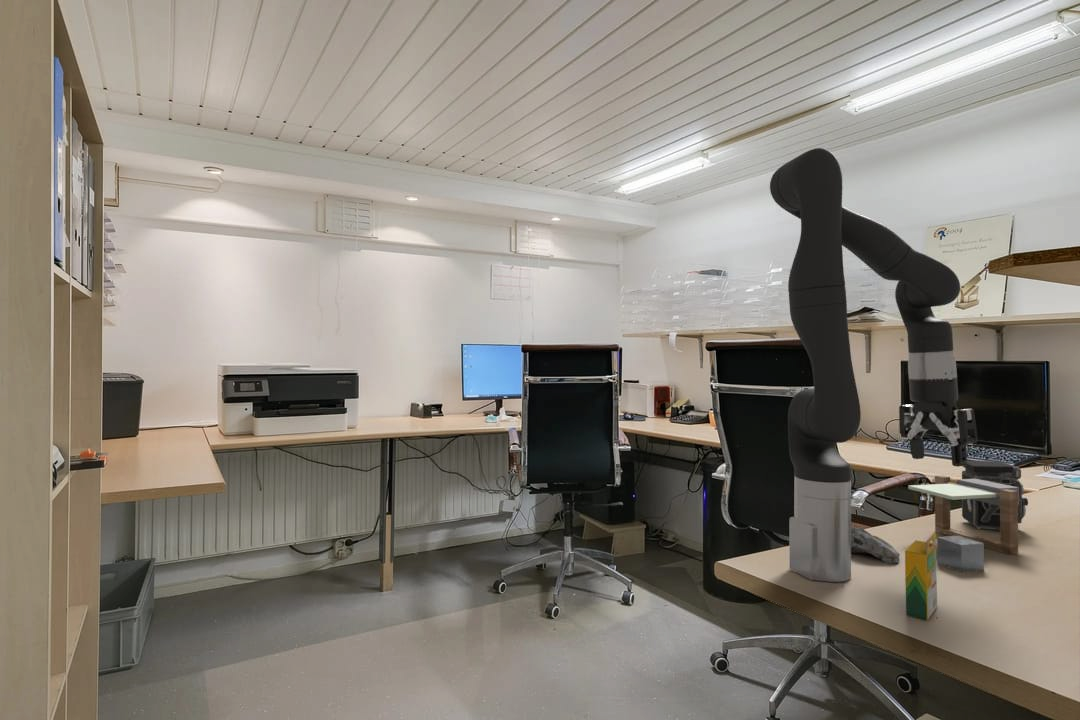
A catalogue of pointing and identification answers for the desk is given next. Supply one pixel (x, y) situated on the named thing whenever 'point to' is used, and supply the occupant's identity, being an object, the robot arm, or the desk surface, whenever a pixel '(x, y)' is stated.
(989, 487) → the trapdoor
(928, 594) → the crayon box
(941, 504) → the frame
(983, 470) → the camera
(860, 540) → the fossilized seashell
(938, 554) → the iron cube
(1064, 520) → the desk surface
